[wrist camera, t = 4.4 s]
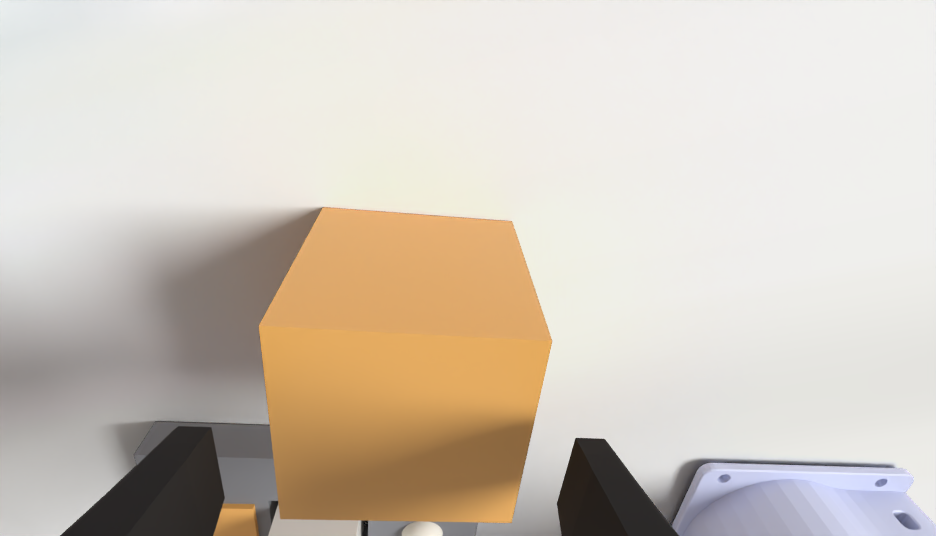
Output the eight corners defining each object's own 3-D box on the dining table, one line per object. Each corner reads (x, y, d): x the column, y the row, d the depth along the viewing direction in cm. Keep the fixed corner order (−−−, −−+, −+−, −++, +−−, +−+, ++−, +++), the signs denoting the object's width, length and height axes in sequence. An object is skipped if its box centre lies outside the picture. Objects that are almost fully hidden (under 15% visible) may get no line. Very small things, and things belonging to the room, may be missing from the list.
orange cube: (512, 221, 15) (552, 341, 10) (489, 366, 18) (511, 522, 13) (323, 207, 15) (258, 325, 9) (328, 359, 17) (280, 519, 12)
